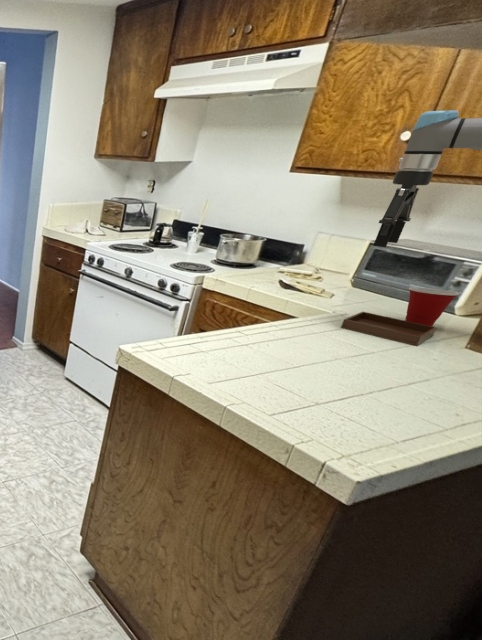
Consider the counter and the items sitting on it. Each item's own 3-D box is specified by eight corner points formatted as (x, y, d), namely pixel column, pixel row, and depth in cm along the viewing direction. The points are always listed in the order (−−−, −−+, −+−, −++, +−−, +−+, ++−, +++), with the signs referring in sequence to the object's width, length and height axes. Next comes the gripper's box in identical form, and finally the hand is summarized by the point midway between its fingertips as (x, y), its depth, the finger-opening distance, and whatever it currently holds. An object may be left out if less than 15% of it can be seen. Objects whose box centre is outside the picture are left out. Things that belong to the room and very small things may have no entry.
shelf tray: (432, 336, 141) (437, 327, 140) (416, 346, 134) (421, 337, 132) (359, 319, 155) (362, 311, 154) (340, 327, 147) (343, 319, 146)
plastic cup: (419, 320, 155) (436, 285, 151) (451, 332, 145) (470, 294, 141) (384, 318, 156) (399, 283, 152) (413, 330, 146) (431, 293, 142)
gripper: (407, 169, 144) (379, 239, 152) (386, 170, 131) (357, 246, 139) (442, 170, 139) (411, 242, 147) (425, 171, 125) (392, 250, 133)
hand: (385, 244), depth 143 cm, fingers open, 13 cm apart
